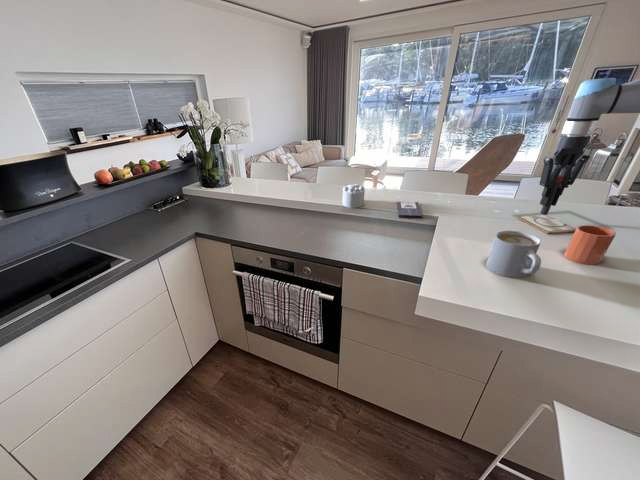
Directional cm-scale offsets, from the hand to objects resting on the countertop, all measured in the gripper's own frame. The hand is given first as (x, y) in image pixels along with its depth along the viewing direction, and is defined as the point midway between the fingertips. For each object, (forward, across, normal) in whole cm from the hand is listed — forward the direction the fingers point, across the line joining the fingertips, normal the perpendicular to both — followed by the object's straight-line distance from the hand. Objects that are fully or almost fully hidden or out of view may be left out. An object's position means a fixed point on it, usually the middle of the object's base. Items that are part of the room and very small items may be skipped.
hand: (547, 204), depth 105 cm
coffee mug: (+7, +32, +32) cm, 46 cm away
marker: (+3, 0, 0) cm, 3 cm away
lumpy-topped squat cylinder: (+7, +63, -37) cm, 73 cm away
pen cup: (+7, +8, +27) cm, 29 cm away
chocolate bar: (+7, +41, -22) cm, 47 cm away
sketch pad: (+7, -5, +2) cm, 9 cm away
